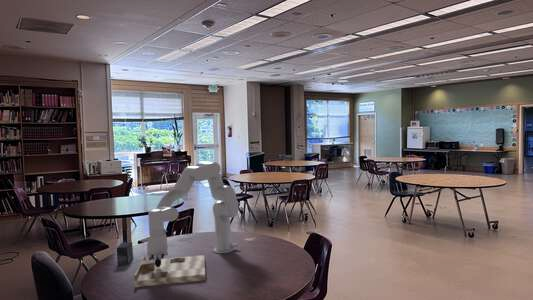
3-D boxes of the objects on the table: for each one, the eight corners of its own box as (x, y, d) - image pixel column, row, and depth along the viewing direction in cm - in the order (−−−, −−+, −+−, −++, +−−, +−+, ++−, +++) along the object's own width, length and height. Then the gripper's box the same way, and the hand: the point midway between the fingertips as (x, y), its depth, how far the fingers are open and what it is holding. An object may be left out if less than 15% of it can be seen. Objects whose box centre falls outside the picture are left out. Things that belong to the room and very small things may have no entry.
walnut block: (154, 266, 196) (154, 259, 196) (153, 270, 190) (152, 263, 190) (143, 267, 195) (142, 260, 195) (141, 272, 189) (140, 264, 189)
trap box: (204, 260, 213) (204, 250, 213) (205, 280, 183) (204, 268, 183) (144, 265, 207) (143, 255, 206) (134, 287, 177) (134, 275, 177)
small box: (122, 259, 219) (121, 242, 219) (133, 258, 220) (132, 241, 219) (116, 265, 209) (115, 247, 208) (128, 264, 209) (127, 246, 209)
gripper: (171, 229, 198) (173, 262, 198) (143, 231, 195) (144, 265, 196) (170, 233, 190) (172, 267, 191) (140, 235, 188) (142, 270, 188)
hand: (158, 266), depth 193 cm, fingers closed
